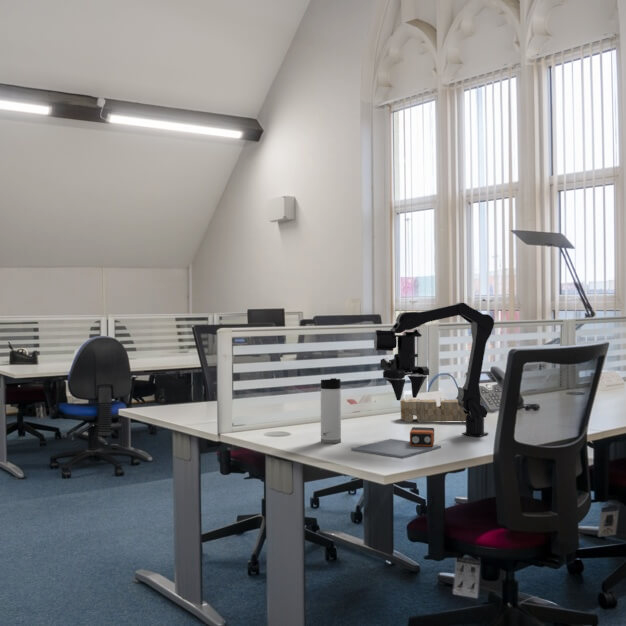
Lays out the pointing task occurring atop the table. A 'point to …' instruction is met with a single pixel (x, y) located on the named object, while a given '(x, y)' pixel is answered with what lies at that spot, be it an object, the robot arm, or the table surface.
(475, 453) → the table surface
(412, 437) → the battery
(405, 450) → the mat
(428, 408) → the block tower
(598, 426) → the table surface
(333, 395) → the travel mug
